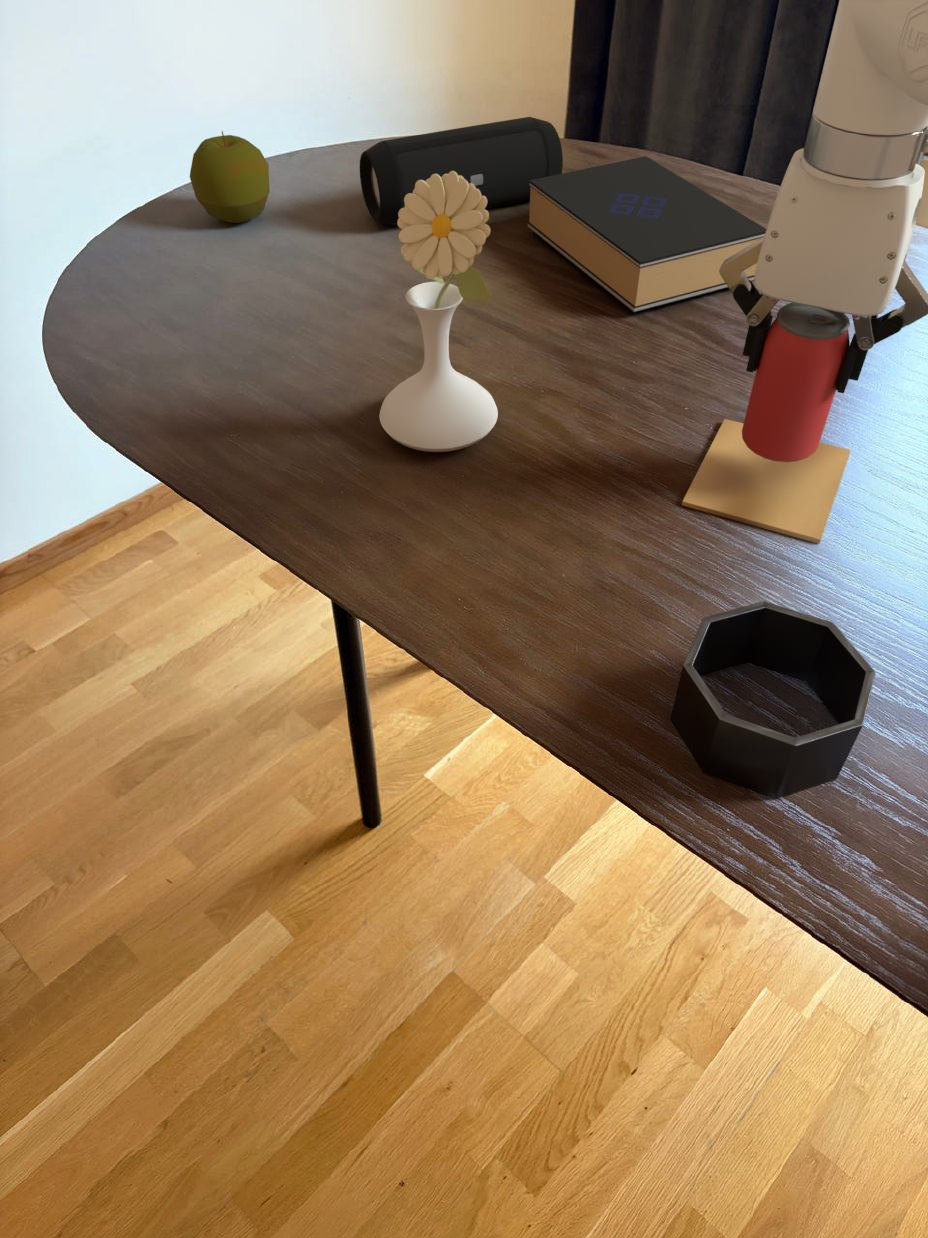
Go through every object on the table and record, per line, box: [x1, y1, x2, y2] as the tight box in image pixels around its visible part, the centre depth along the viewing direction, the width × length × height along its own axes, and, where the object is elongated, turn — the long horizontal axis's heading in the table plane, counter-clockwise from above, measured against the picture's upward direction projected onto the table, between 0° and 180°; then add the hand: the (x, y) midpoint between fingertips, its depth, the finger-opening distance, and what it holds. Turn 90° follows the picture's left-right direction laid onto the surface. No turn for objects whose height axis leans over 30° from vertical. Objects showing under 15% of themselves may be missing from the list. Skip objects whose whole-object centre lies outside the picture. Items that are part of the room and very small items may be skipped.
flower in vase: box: [378, 171, 499, 453], centre depth 82 cm, size 13×11×25 cm
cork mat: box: [681, 418, 852, 545], centre depth 85 cm, size 12×14×1 cm
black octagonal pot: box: [669, 600, 876, 800], centre depth 64 cm, size 12×12×6 cm
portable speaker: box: [359, 116, 564, 226], centre depth 123 cm, size 26×10×10 cm, turn 113°
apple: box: [189, 130, 271, 224], centre depth 121 cm, size 10×10×11 cm
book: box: [526, 155, 767, 313], centre depth 113 cm, size 17×25×7 cm
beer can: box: [742, 302, 851, 462], centre depth 78 cm, size 7×7×12 cm
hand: (798, 372), depth 77 cm, fingers closed on beer can, 6 cm apart
